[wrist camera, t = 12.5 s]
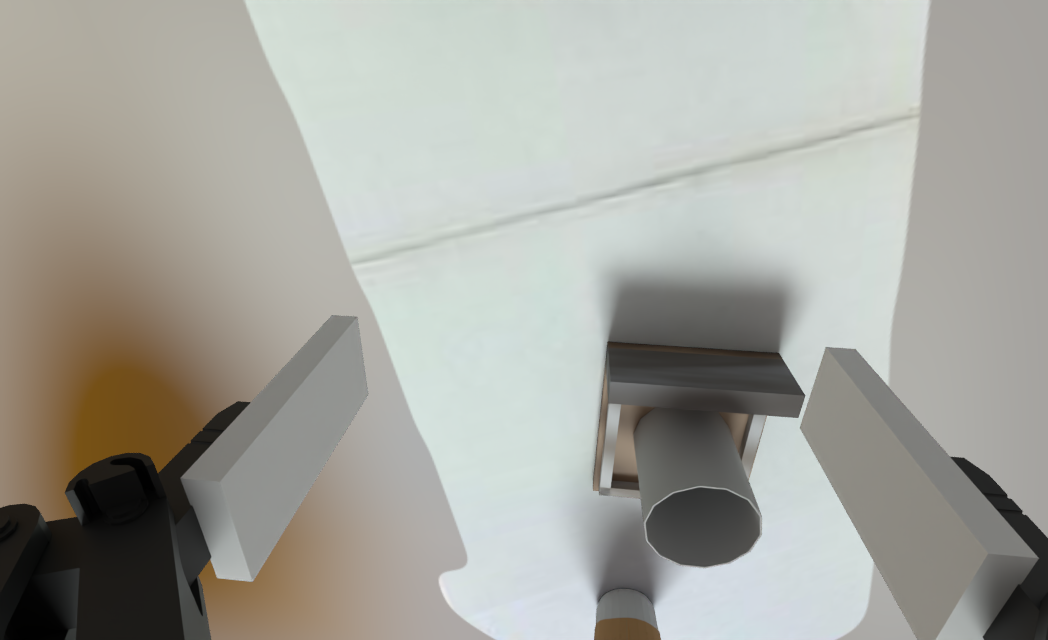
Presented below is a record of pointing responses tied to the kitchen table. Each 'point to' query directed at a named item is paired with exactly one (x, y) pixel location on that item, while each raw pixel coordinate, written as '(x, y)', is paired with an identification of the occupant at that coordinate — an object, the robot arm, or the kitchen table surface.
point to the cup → (694, 489)
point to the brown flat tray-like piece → (686, 400)
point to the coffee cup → (625, 617)
